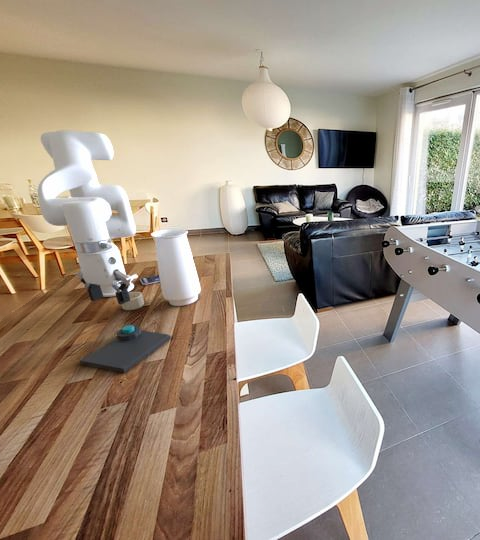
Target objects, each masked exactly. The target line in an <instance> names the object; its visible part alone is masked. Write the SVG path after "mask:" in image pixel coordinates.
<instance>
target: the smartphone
mask: <svg viewBox="0 0 480 540" xmlns="http://www.w3.org/2000/svg"><path fill="white" fill-rule="evenodd" d="M139 281H140V283H141V284H142V285H143V286H146V285H151V284H152V285H153V284H156V283H160V277H159V274H156V275H151V276H146V277H140V278H139Z"/></svg>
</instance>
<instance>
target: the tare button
mask: <svg viewBox="0 0 480 540" xmlns="http://www.w3.org/2000/svg"><path fill="white" fill-rule="evenodd" d="M121 329H122V332H123V334H129V333H132V332H134V331H135V329H134V324H127V325H124V326H123V327H122V328H121Z"/></svg>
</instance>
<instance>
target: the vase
mask: <svg viewBox="0 0 480 540" xmlns="http://www.w3.org/2000/svg"><path fill="white" fill-rule="evenodd" d="M188 233H189V231H188V230H187V229H185V228H166V229H160V230H156V231H153V232H152V233H150V236H151V237H153V238H154V246H155V253H156V261H157V269H158V275H159V277H160V282H159V283H160V289H161V294H162V297H163V299H165V300H166V301H168V303H169V305H171V306H174V307H182V306H187V305H191V304H193V303H195V302H196V301H197V300H198V299H199V294H200V293H201V284H200V279H199V276H198V272H197V268H196V264H195V261H194V257H193V254H192V250H191V247H190V244H189V239H188V236H187V234H188Z"/></svg>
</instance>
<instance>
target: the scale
mask: <svg viewBox="0 0 480 540" xmlns="http://www.w3.org/2000/svg"><path fill="white" fill-rule="evenodd" d="M133 326H134V329H135V331H134V332H132V333H129V334H123V332H122V328H121V329H119V330H117V331H116V333H115V334H116V337H115V338H114V339H112V340H111V341H109V342H107V343H106V344H104V345H103V346H101V347H100V348H98V349H96V350H94V351H93V352H90V353H89V354H88V355H86V356H85V357H83V358H81V359H79V362H80V365H82V366H87V367H92V368H98V369H103V370H108V371H115V372H119V373H126V372H128V371H129V370H130V369H132V368H133V367H134V366H136V365H137V364H138V363H140V362H141V361H142V360H143V359H145V358H146V357H148V356H149V355H150V354H151V353H153V352H154V351H156V350H157V349H159V347H161V346H162V345H164V344H165V343H166V342H167V341H169V340H170V339H171V335H170V334H167V333H160V332H154V331H148V330H142V328H141V327H140V326H139V325H136V324H135V325H134V324H133Z"/></svg>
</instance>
